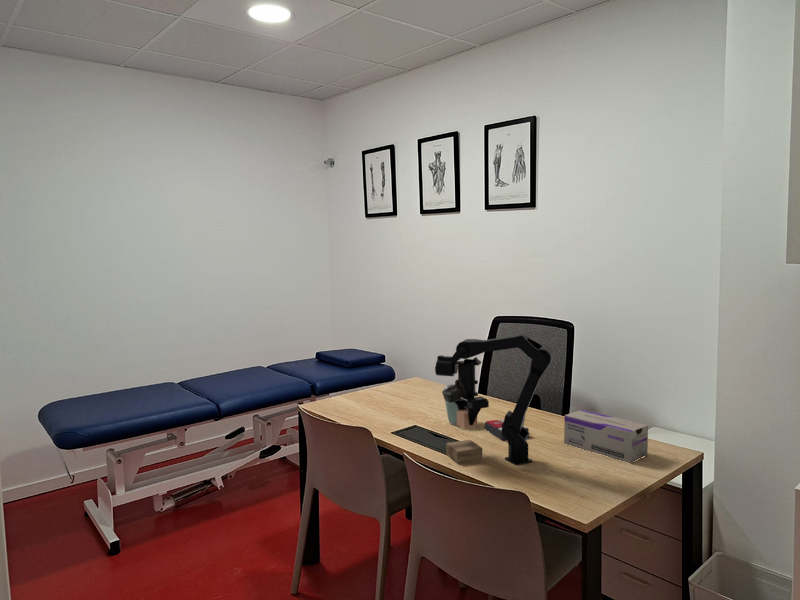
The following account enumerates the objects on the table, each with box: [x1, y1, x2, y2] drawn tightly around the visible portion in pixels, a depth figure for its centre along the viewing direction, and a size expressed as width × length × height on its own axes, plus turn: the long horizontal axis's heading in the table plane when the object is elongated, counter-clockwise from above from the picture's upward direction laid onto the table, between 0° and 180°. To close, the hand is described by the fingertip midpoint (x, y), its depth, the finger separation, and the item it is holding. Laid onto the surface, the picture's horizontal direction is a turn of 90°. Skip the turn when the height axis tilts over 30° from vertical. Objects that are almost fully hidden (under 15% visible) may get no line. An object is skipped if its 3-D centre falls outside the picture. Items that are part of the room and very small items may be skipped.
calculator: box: [484, 418, 530, 442], centre depth 221 cm, size 11×4×15 cm
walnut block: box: [445, 439, 483, 465], centre depth 196 cm, size 9×9×4 cm
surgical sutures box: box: [563, 409, 649, 464], centre depth 201 cm, size 25×11×11 cm, turn 39°
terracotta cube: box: [456, 409, 478, 430], centre depth 198 cm, size 5×5×5 cm
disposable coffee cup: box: [442, 383, 458, 426], centre depth 234 cm, size 11×11×15 cm
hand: (467, 422), depth 198 cm, fingers closed on terracotta cube, 5 cm apart
